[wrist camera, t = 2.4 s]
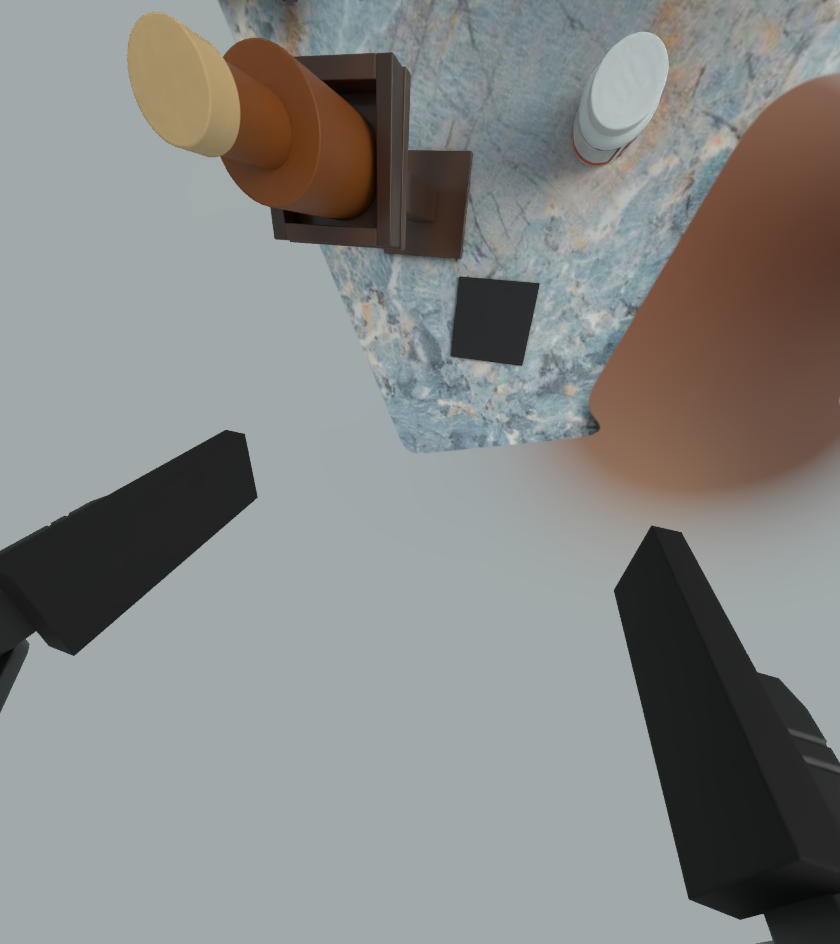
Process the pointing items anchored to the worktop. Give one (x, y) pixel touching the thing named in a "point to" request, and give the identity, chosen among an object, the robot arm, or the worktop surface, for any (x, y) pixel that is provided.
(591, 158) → the pill bottle
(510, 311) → the mat
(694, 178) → the worktop surface
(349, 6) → the worktop surface
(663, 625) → the robot arm
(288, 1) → the pistol
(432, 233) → the holder
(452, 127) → the worktop surface
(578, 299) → the worktop surface
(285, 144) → the bottle
